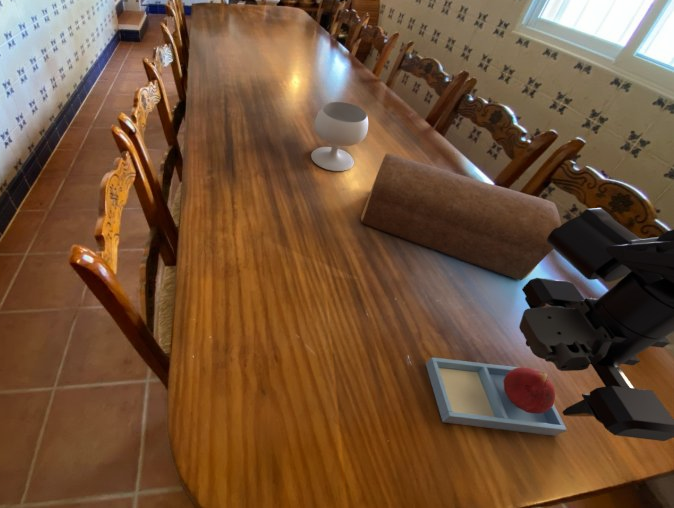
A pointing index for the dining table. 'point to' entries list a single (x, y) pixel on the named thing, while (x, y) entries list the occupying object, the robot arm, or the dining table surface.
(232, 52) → the dining table surface
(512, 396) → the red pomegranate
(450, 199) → the bread
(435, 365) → the divided blue tray
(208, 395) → the dining table surface
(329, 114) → the chalice
